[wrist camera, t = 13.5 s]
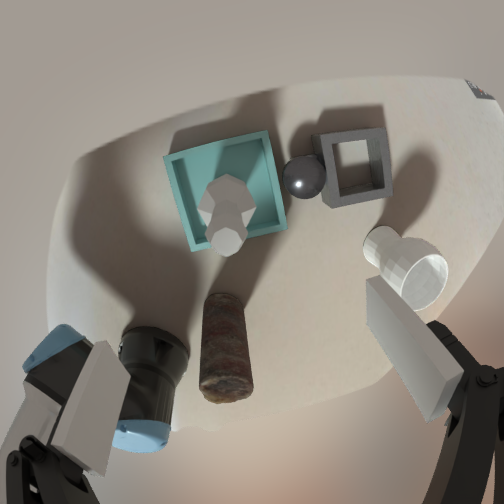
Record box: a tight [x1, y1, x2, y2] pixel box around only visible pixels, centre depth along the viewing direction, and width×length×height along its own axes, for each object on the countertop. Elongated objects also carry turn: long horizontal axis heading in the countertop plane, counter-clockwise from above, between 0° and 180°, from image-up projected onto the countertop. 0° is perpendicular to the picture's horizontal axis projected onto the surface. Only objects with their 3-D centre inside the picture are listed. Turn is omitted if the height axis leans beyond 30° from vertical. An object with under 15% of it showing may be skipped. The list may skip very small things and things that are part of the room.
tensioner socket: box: [282, 128, 393, 208], centre depth 39 cm, size 18×11×6 cm, turn 103°
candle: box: [199, 294, 254, 404], centre depth 42 cm, size 8×7×20 cm
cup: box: [363, 226, 448, 311], centre depth 41 cm, size 11×11×15 cm
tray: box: [163, 130, 288, 252], centre depth 41 cm, size 15×15×4 cm
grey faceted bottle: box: [197, 174, 256, 257], centre depth 31 cm, size 6×6×22 cm
